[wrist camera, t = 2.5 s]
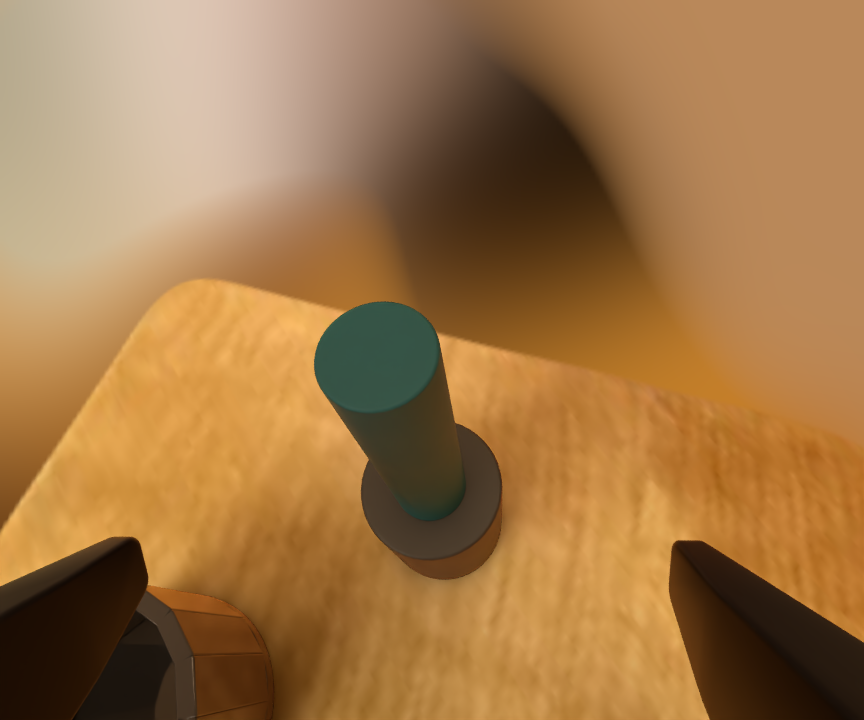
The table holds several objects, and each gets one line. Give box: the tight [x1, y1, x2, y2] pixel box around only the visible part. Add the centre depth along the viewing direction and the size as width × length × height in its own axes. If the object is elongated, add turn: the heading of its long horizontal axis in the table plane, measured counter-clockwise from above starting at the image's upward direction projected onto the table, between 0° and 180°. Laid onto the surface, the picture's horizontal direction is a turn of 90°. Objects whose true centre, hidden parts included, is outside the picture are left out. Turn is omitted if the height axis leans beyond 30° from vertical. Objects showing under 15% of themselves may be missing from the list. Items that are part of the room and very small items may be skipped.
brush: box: [314, 302, 502, 579], centre depth 13 cm, size 4×4×12 cm
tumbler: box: [72, 585, 274, 720], centre depth 14 cm, size 7×7×5 cm
